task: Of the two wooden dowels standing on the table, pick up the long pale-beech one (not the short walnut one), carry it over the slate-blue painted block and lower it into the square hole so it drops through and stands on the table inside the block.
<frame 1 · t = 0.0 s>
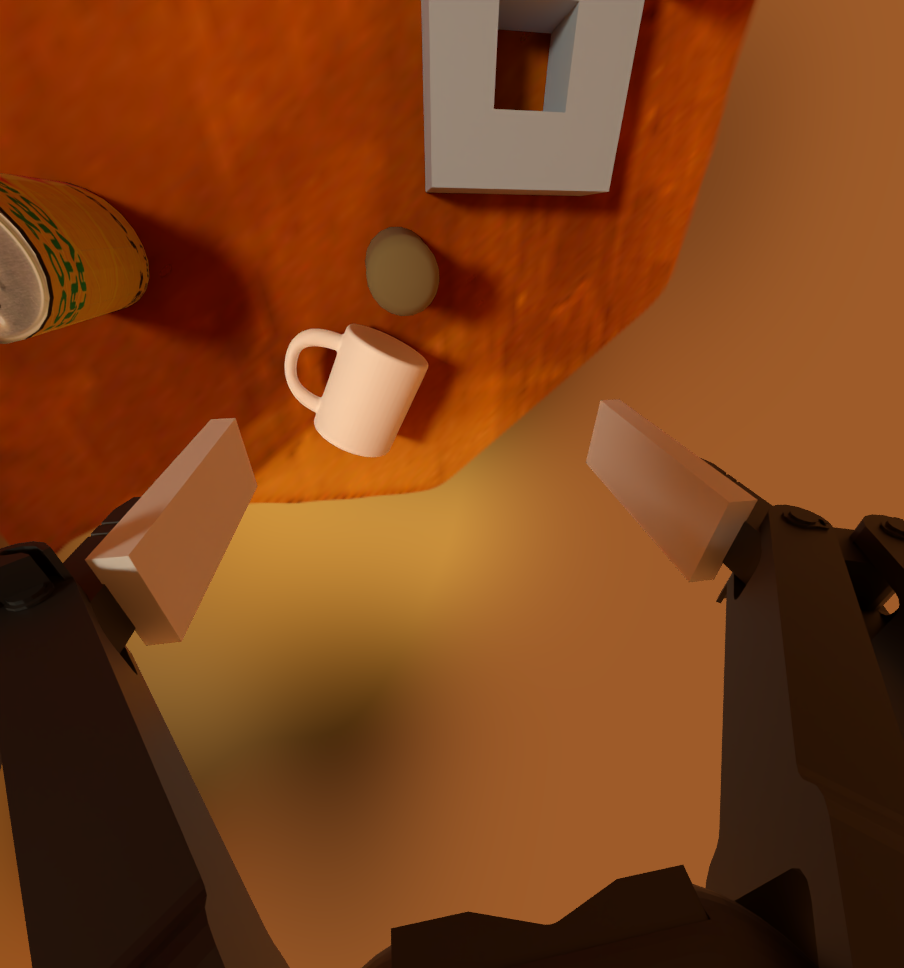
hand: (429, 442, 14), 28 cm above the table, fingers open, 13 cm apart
cork: (398, 265, 36), on the table
hole block: (513, 80, 30), on the table
mug: (353, 370, 40), on the table
beverage can 2: (86, 250, 32), on the table
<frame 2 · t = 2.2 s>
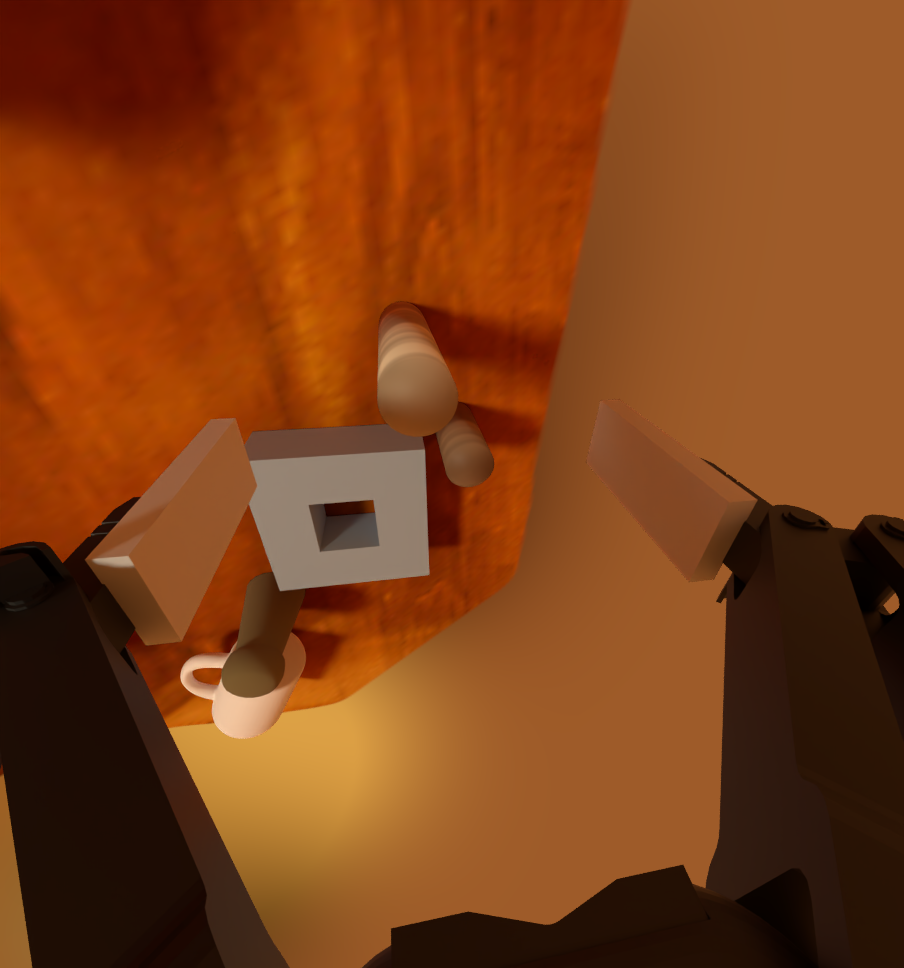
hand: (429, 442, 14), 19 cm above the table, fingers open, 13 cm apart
cork: (277, 590, 43), on the table
short pin: (453, 420, 35), on the table
hole block: (349, 493, 37), on the table
mug: (250, 646, 48), on the table
long pin: (402, 327, 30), on the table
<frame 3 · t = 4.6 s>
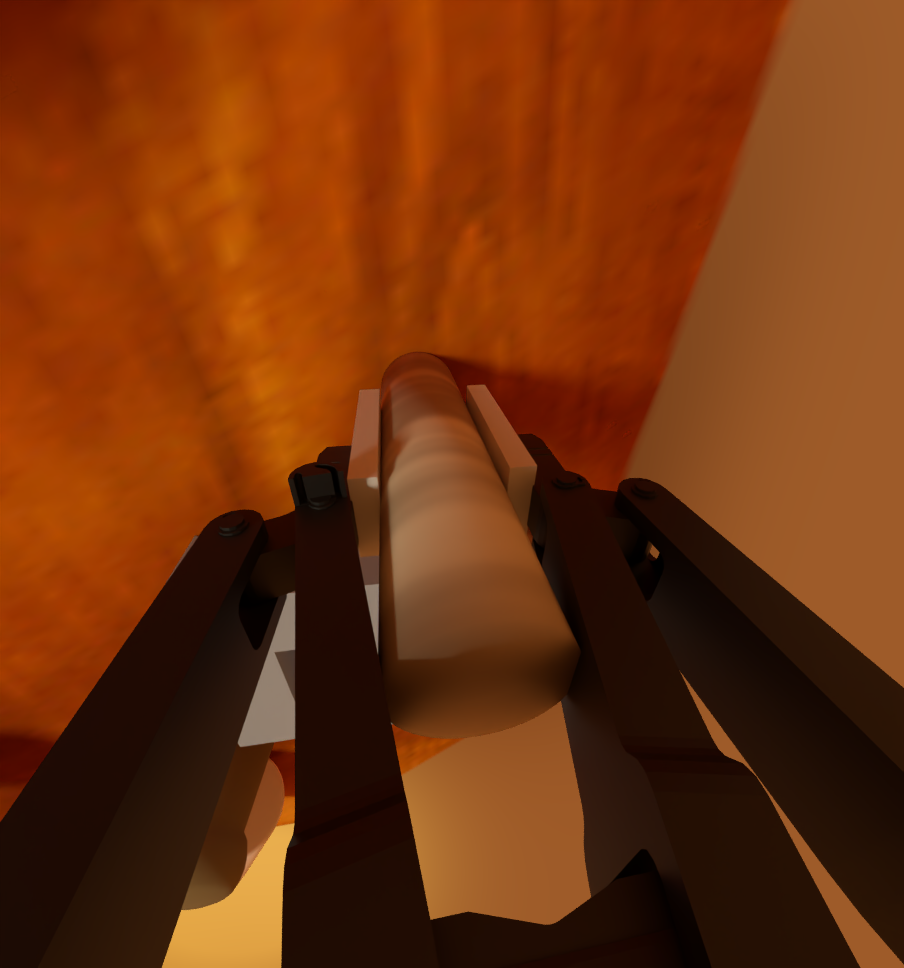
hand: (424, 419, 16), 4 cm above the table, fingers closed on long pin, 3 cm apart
cork: (245, 712, 32), on the table
hole block: (340, 604, 27), on the table
mug: (215, 770, 37), on the table
long pin: (418, 389, 19), on the table, touching gripper
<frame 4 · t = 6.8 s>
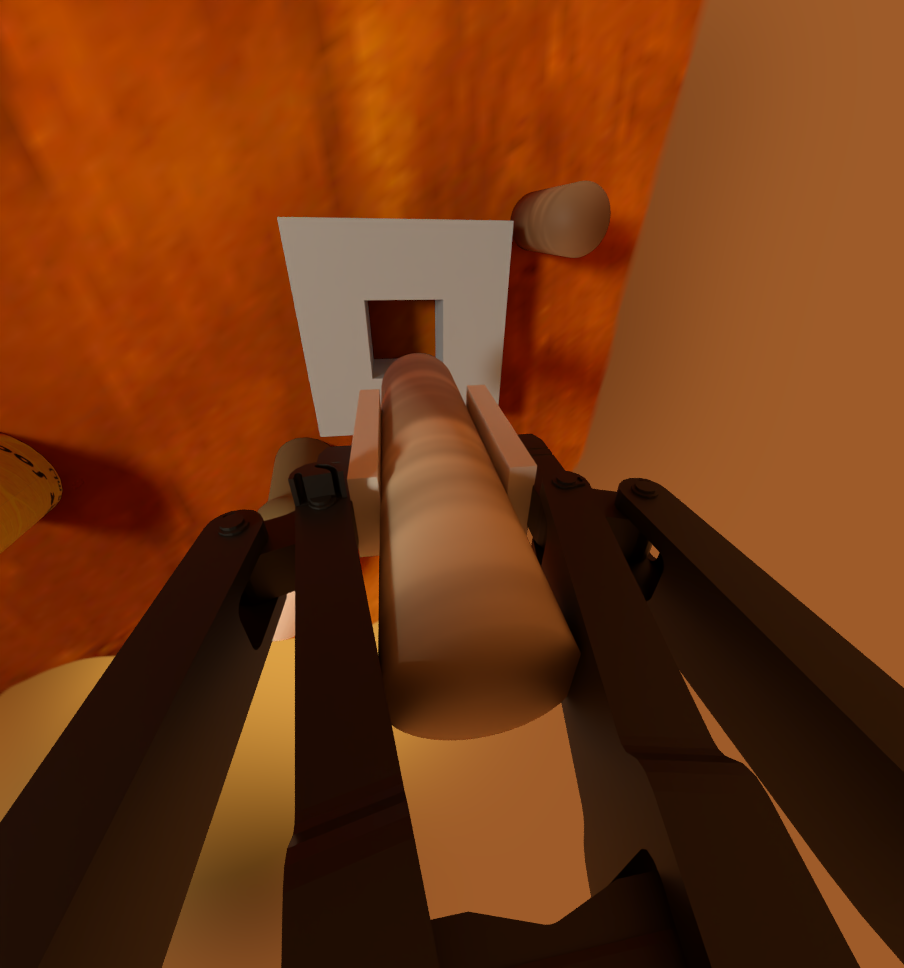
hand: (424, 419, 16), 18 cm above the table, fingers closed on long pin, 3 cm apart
cork: (309, 465, 37), on the table
short pin: (534, 222, 28), on the table
hole block: (403, 325, 31), on the table
mug: (275, 543, 42), on the table
long pin: (418, 390, 19), point 15 cm above the table, touching gripper
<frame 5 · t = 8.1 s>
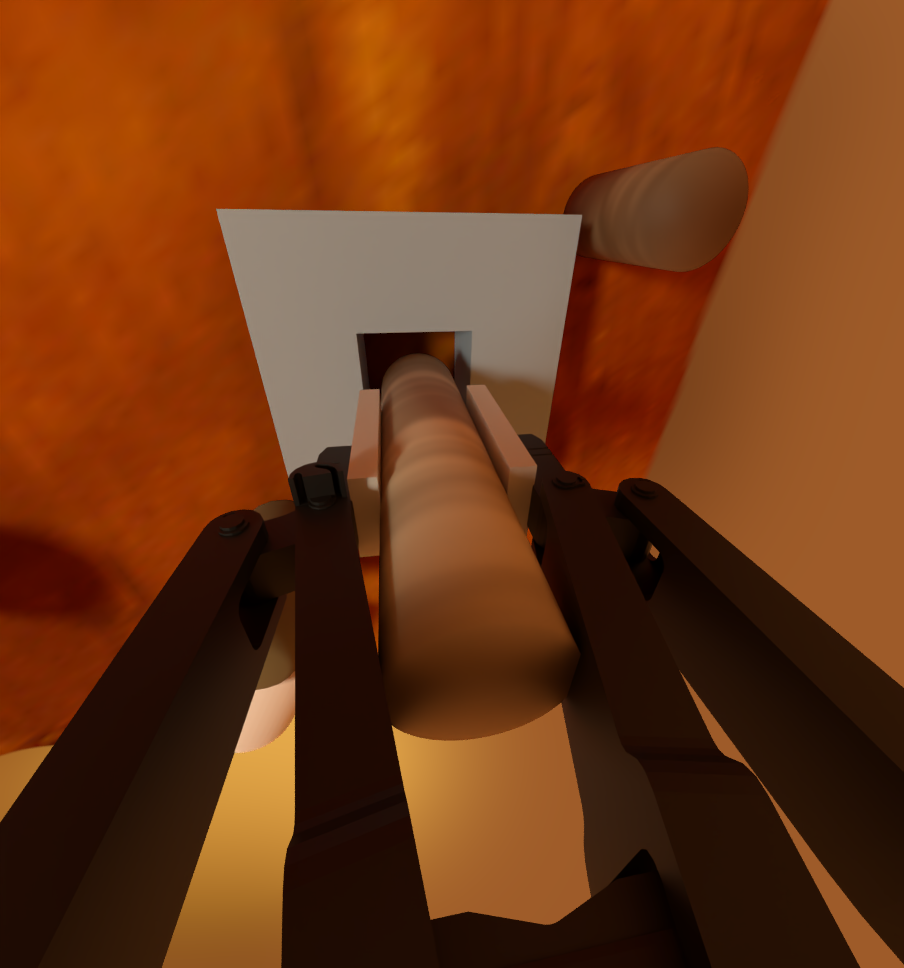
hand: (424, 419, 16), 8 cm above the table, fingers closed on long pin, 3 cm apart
cork: (289, 531, 29), on the table
short pin: (595, 217, 20), on the table
hole block: (411, 358, 23), on the table
mug: (250, 619, 33), on the table
long pin: (418, 390, 19), point 5 cm above the table, touching gripper
when the fingers open (7 cm above the table, at t = 8.9 s): long pin drops 3 cm, resting in hole block.
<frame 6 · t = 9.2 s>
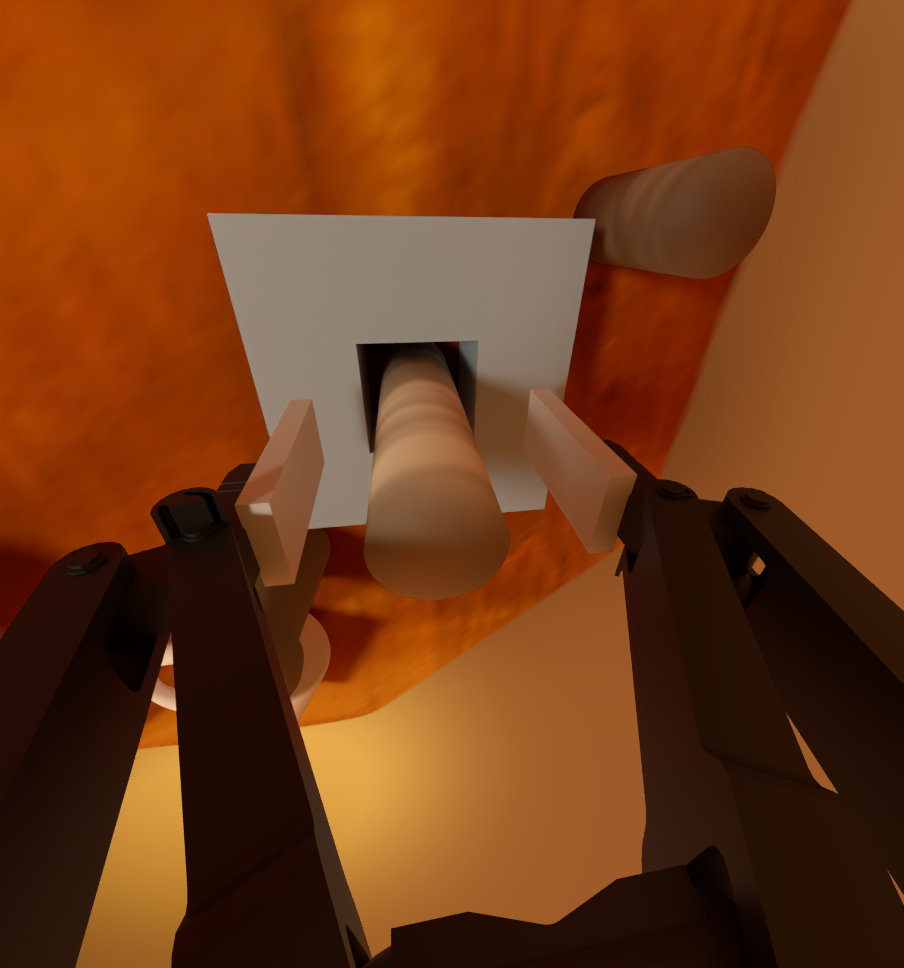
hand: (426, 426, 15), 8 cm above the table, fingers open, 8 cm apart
cork: (287, 544, 28), on the table
short pin: (606, 221, 19), on the table
hole block: (413, 368, 22), on the table
mug: (247, 634, 32), on the table
long pin: (415, 368, 22), resting in hole block
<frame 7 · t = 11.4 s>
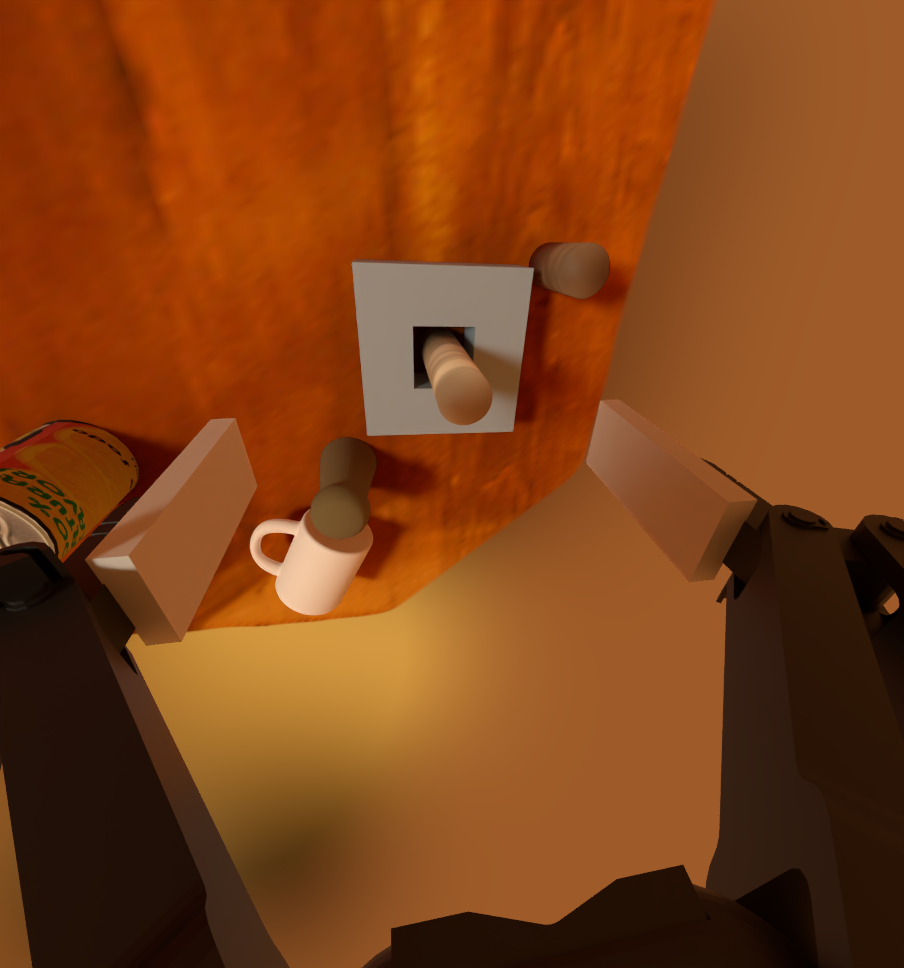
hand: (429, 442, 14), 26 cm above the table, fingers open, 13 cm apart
cork: (349, 461, 43), on the table
short pin: (547, 265, 35), on the table
hole block: (437, 345, 37), on the table
mug: (312, 531, 47), on the table
beverage can 2: (87, 461, 39), on the table
long pin: (438, 345, 37), resting in hole block
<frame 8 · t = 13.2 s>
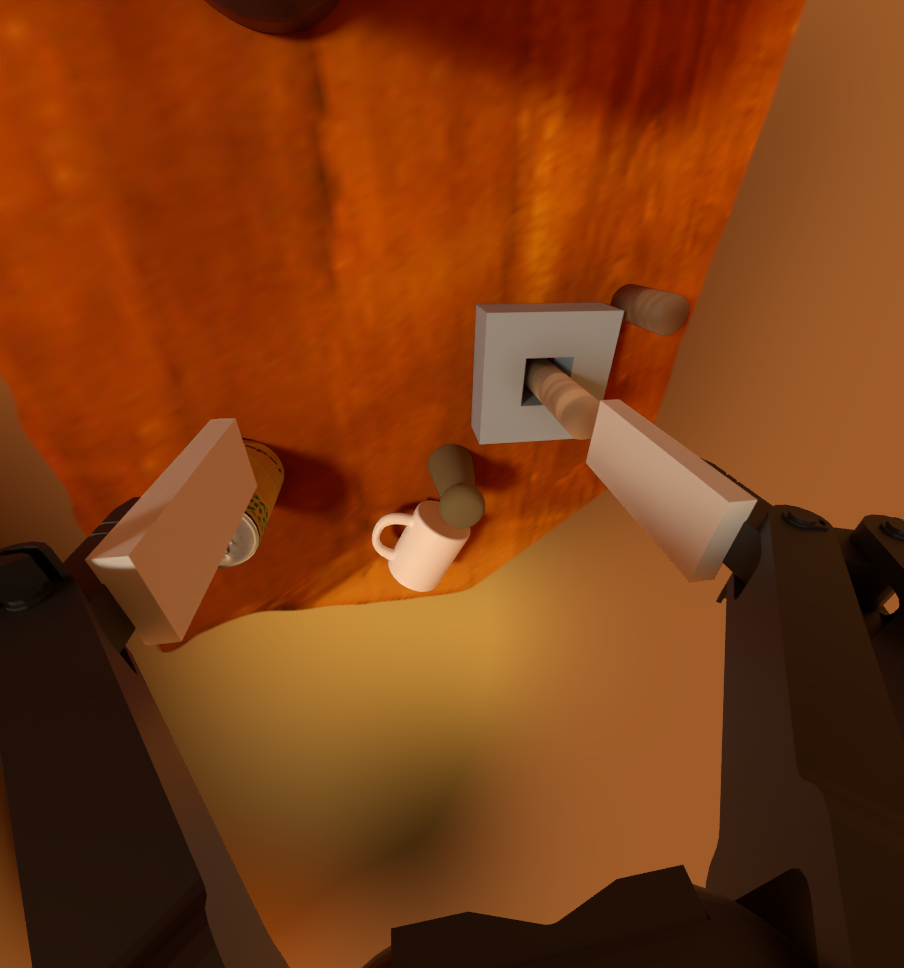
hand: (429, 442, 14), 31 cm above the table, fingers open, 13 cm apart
cork: (450, 463, 51), on the table
short pin: (626, 302, 43), on the table
hole block: (531, 368, 45), on the table
mug: (413, 522, 56), on the table
beverage can 2: (245, 469, 47), on the table
long pin: (532, 368, 45), resting in hole block
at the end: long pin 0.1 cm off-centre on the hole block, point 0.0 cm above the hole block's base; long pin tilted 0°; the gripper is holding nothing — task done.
